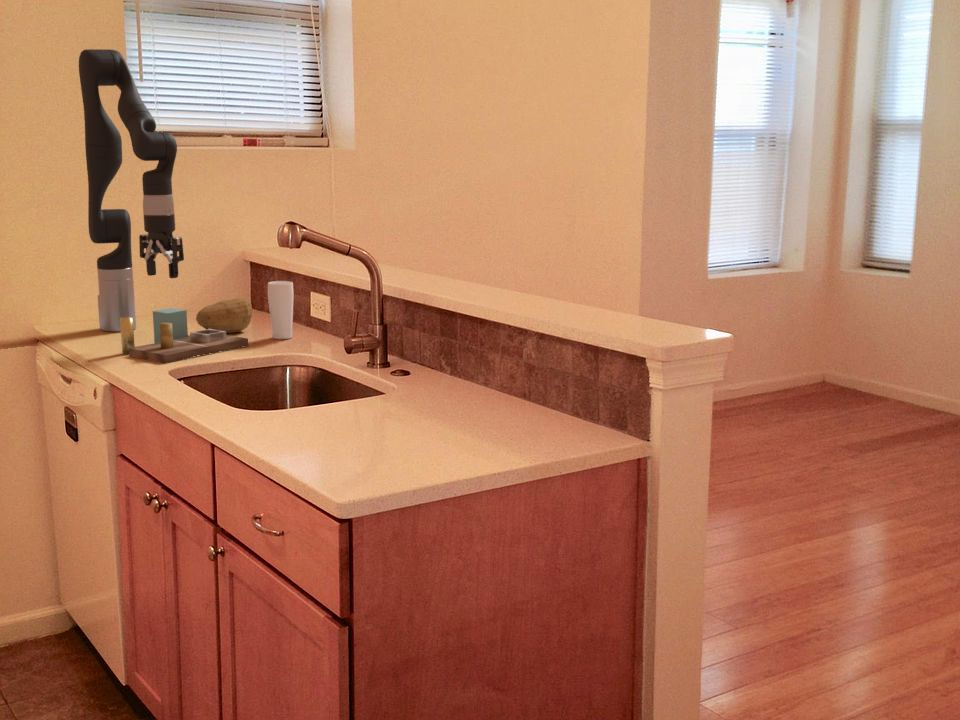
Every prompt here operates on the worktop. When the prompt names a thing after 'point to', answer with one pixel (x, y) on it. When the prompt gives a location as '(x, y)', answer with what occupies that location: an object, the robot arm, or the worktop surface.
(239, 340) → the board
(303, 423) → the worktop surface
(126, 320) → the pin
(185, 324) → the block
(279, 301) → the drinking glass
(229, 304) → the potato
